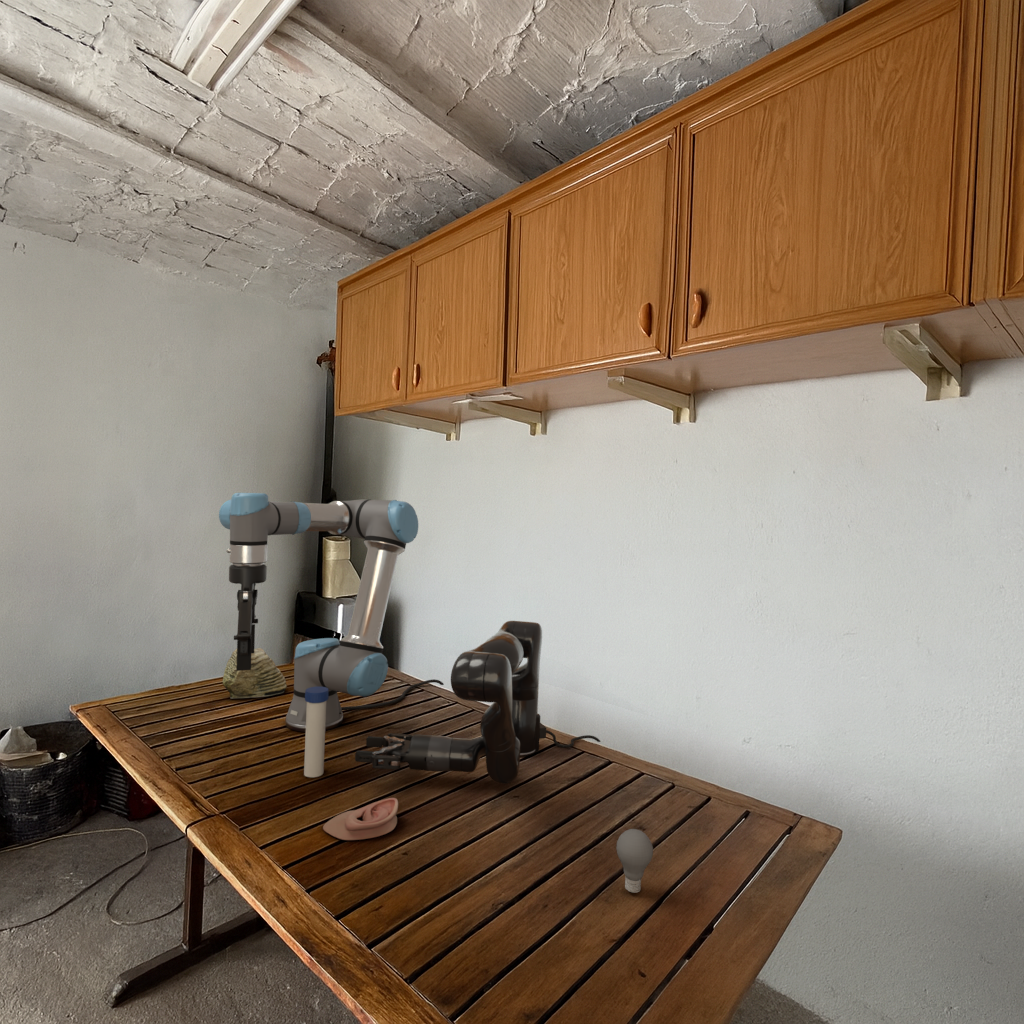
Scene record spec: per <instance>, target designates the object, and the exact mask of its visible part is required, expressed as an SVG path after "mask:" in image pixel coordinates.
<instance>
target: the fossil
mask: <svg viewBox="0 0 1024 1024" xmlns="http://www.w3.org/2000/svg"><path fill="white" fill-rule="evenodd" d="M222 676H223V677H222V685H223V687H224V688H225V690H226V691H228V693H229V698H230V699H250V698H264V697H271V696H275V695H281V694H284V693H285V691H286V689H287V687H288V686H287V680H286V678H285V676H284V674H283V673H282V672H281V669H279V668H278V667H277V665H276V663H275V662H274V660H273V659H272V658H271V657H270V656H269V655H268V654H267V653H266V652H265V650H264V649H263V648H260V647H258V648H254V653H251V670H241V671H237V648H236V649H235V650H233V651H232V653H231V656H230V657H229V659H228V660H227V663H226V666H225V668H224V671H223V675H222Z"/></svg>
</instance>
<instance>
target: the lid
mask: <svg viewBox="0 0 1024 1024" xmlns="http://www.w3.org/2000/svg"><path fill="white" fill-rule="evenodd" d="M328 696H329V691H328V688H326V687H310V688H308V689H306V692H305V701H306V702H309V703H321V702H325V701H327V700H328Z"/></svg>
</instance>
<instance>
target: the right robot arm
mask: <svg viewBox="0 0 1024 1024" xmlns="http://www.w3.org/2000/svg"><path fill="white" fill-rule="evenodd" d="M542 644H543V628H542V625H541V624H540V623H538V622H534V621H522V620H508V621H505V622H504V623H502V626H500V628H499V629H498V631H497V632H496V633H495V634H494V635H492V636H491V637H489V638H487V640H485V641H484V642H483V643H481V644H480V645H479V646H477V647H475V648H472V649H469V650H466V651H463V652H462V653H460V654H459V656H458V657H457V658H456V660H455V661H454V663H453V665H452V669H451V672H450V687H451V689H452V692H453V693H454V695H455V696H456V697H457V698H459V699H460V700H464V701H470V702H482V703H491V704H490V705H489V706H488V707H487V709H486V710H485V712H483V715H482V716H481V720H480V725H479V726H480V734H481V736H480V737H474V738H461V737H460V738H459V737H449V736H444V735H434V734H433V735H431V734H405V733H393V732H388V733H387V735H384V736H370V735H368V736H367V737H366V739H365V740H366V742H365V746H366V747H367V748H381V749H380V750H375V751H373V750H372V751H370V750H356V751H355V753H354V761H355V762H357V763H370V764H371V765H372V769H380V770H381V769H382V770H383V769H384V770H386V769H387V770H399V769H401V763H407V764H408V768H409V770H412V771H423V772H424V771H426V772H427V771H428V772H438V773H439V772H441V773H442V772H456V773H457V772H458V773H472V772H475V771H476V769H477V767H478V764H479V762H480V760H481V758H482V757H483V756H485V765H486V771H487V774H488V777H490V779H491V780H493V782H495V783H497V784H500V785H506V784H510V783H513V782H514V781H515V780H516V779H517V778H518V776H519V773H520V764H521V757H529V756H532V755H534V754H536V753H539V752H540V740H541V739H547V734H548V735H550V736H551V737H552V740H553V744H554V745H555V746H557V747H558V748H559V747H560V748H565V749H566V748H572V747H573V746H575V742H576V741H580V740H585V739H592V740H594V741H596V742H597V743H602V742H601V740H600V738H598V737H597V736H594V735H588V734H585V735H580V736H576V737H573V738H572V739H570V743H568V744H562V743H559V742H557V737H556V735H555V734H554V732H552V731H550V730H548V729H547V727H546V725H544V724H543V723H541V714H540V713H538V712H539V711H538V710H539V688H540V685H539V684H540V670H541V669H540V667H541V653H542ZM523 659H527V661H526V662H525V663H523V664H522V662H523ZM521 664H522V665H521Z"/></svg>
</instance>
